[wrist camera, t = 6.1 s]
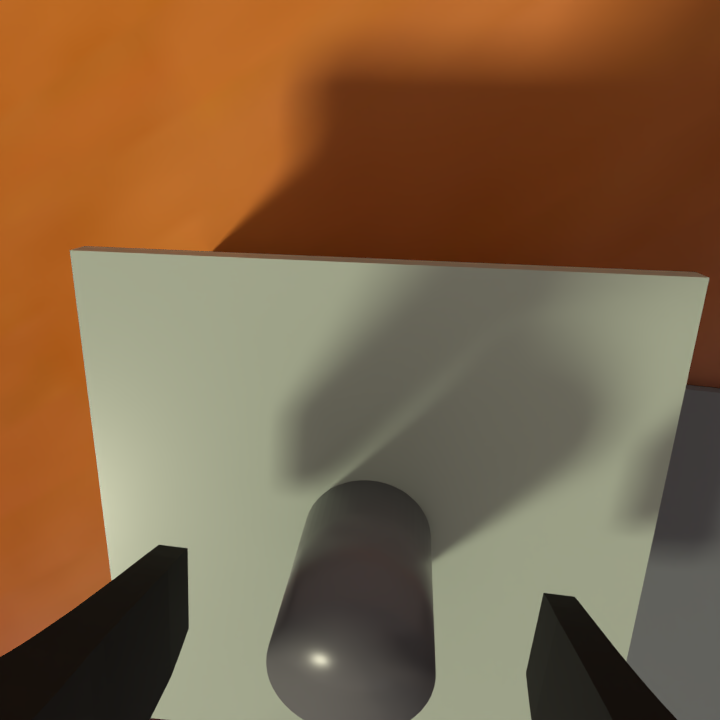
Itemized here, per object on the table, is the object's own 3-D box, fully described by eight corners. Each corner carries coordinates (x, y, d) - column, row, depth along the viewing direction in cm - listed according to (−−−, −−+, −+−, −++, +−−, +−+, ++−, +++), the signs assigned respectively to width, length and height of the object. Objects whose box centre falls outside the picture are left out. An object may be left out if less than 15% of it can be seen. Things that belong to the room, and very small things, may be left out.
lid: (597, 742, 17) (661, 949, 12) (138, 697, 18) (47, 875, 13) (696, 271, 12) (844, 336, 8) (84, 246, 13) (-75, 290, 9)
